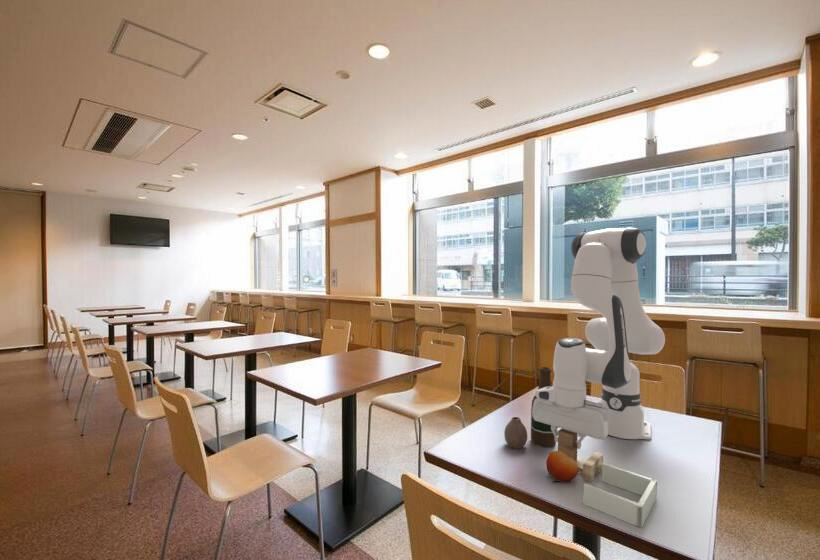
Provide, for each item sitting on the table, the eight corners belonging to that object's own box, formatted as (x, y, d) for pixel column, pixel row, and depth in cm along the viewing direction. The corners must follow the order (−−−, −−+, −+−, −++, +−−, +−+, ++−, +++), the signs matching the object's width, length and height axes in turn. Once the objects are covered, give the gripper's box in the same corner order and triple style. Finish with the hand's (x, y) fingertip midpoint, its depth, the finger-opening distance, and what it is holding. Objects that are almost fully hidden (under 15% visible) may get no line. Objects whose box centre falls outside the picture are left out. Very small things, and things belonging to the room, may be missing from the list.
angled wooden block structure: (566, 455, 114) (567, 424, 113) (602, 468, 107) (603, 434, 107) (552, 467, 106) (553, 434, 106) (590, 481, 99) (591, 445, 99)
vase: (528, 452, 115) (528, 423, 115) (504, 449, 117) (505, 421, 117) (525, 442, 122) (526, 415, 122) (503, 440, 124) (504, 413, 124)
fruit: (533, 466, 104) (549, 441, 104) (557, 480, 105) (572, 455, 105) (547, 482, 96) (563, 455, 96) (572, 497, 97) (588, 470, 97)
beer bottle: (555, 439, 125) (557, 366, 125) (556, 449, 118) (558, 372, 117) (530, 435, 128) (532, 364, 127) (530, 445, 120) (532, 369, 120)
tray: (603, 479, 101) (603, 462, 101) (656, 498, 92) (656, 480, 92) (583, 503, 90) (583, 484, 90) (641, 527, 82) (642, 507, 81)
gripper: (612, 402, 103) (610, 453, 104) (539, 386, 117) (538, 430, 118) (604, 408, 99) (603, 461, 99) (530, 390, 113) (529, 436, 113)
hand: (567, 444), depth 109 cm, fingers closed on angled wooden block structure, 4 cm apart
